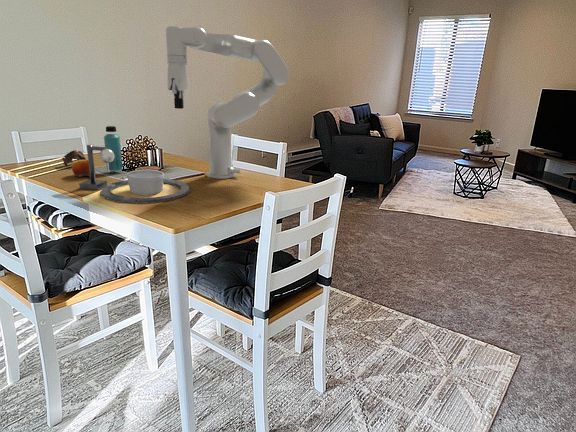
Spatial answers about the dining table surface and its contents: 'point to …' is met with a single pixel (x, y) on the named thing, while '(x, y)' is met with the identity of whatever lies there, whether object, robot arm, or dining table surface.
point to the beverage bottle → (113, 148)
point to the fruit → (81, 168)
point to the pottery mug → (73, 157)
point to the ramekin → (145, 181)
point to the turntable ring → (109, 195)
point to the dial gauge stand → (92, 183)
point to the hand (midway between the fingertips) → (179, 108)
